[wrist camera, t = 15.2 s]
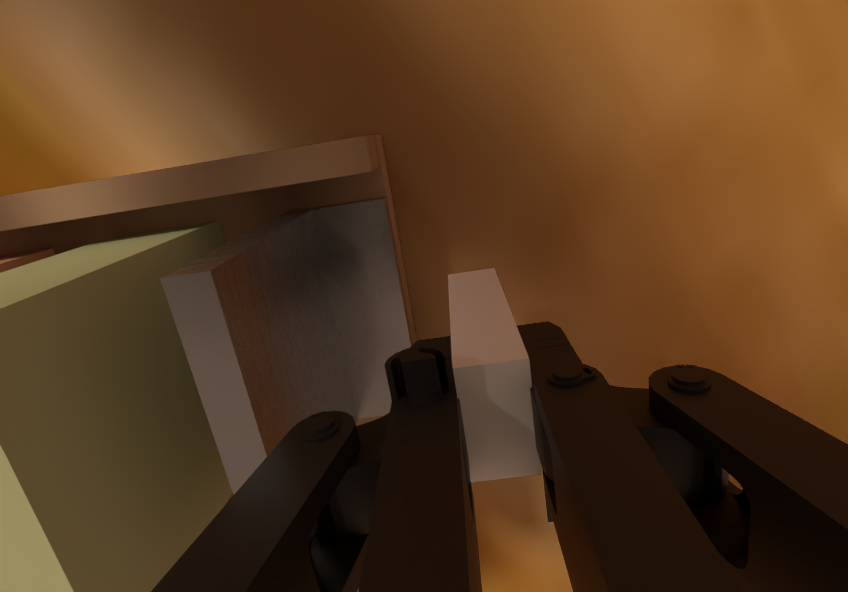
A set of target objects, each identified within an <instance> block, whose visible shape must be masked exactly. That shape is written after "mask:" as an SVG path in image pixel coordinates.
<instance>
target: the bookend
mask: <svg viewBox="0 0 848 592" xmlns="http://www.w3.org/2000/svg"><path fill="white" fill-rule="evenodd" d="M160 280H161V283H162V286H163V289H164V292H165V294H166V297H167V300H168V303H169V306H170V309H171V312H172V315H173V318H174V321H175V324H176V327H177V330H178V333H179V336H180V339H181V342H182V345H183V348H184V351H185V353H186V356H187V359H188V362H189V365H190V368H191V371H192V374H193V377H194V380H195V383H196V386H197V389H198V392H199V395H200V398H201V401H202V404H203V407H204V410H205V413H206V415H207V418H208V421H209V424H210V427H211V430H212V433H213V436H214V439H215V442H216V445H217V448H218V451H219V454H220V457H221V460H222V463H223V466H224V469H225V472H226V475H227V477H228V480H229V483H230V486H231V489H232V492H233V495H234V494H235V493H236V492H237V491H238V490H239V489H240V487H241V486H242V485H243V484H244V483H245V482H246V480H247V479H248V478H249V477H250V476H251V475H252V474H253V472H254V471H255V470H256V469H257V468H258V467H259V465H260V464H261V463H262V462H263V461H264V460H265V458H266V457H267V456H268V455H269V454H270V453H271V451H272V450H273V449H274V448H275V447H276V446H277V445H278V443H279V442H280V441H281V440H282V439H283V438H284V436H285V435H286V434H287V433H288V432H289V431H290V429H291V428H293V427H294V426H295V425H296V424H297V423H298V422H300V421H302V420H304V419H306V418H307V417H309V416H310V415H313V414H316V413H317V414H318V413H319V412H323V411H341V412H346V413H348V414H350V415H351V416H353V418H354V421H355V424H356V423H357V420H358V419H360V418H369V417H377V416H384V415H386V414H388V413H389V412H390V408H391V402H392V400H391V395H390V390H389V385H388V380H387V376H386V371H385V366H384V364H385V362H386V361H387V359H388V358H389V357H391V356H392V355H394V354H395V353H397V352H400V351H402V350H404V349H407V348H410V347H411V346H412V345H413V343H412V337H411V331H410V326H409V320H408V315H407V309H406V303H405V298H404V292H403V287H402V281H401V275H400V270H399V264H398V259H397V253H396V247H395V242H394V236H393V231H392V225H391V219H390V214H389V208H388V203H387V197H386V196H385V197H379V198H373V199H366V200H360V201H353V202H347V203H341V204H334V205H328V206H321V207H315V208H308V209H302V210H296V211H289V212H285V213H283V214H281V215H280V216H278V217H276V218H274V219H272V220H270V221H268V222H266V223H264V224H262V225H261V226H259V227H257V228H255V229H253V230H251V231H249V232H247V233H245V234H243V235H242V236H240V237H238V238H236V239H234V240H232V241H230V242H228V243H226V244H224V245H223V246H221V247H219V248H217V249H215V250H213V251H211V252H209V253H207V254H205V255H204V256H202V257H200V258H198V259H196V260H194V261H192V262H190V263H188V264H187V265H185V266H183V267H181V268H179V269H177V270H175V271H173V272H171V273H169V274H168V275H166V276H164V277H162V278H160Z"/></svg>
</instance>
